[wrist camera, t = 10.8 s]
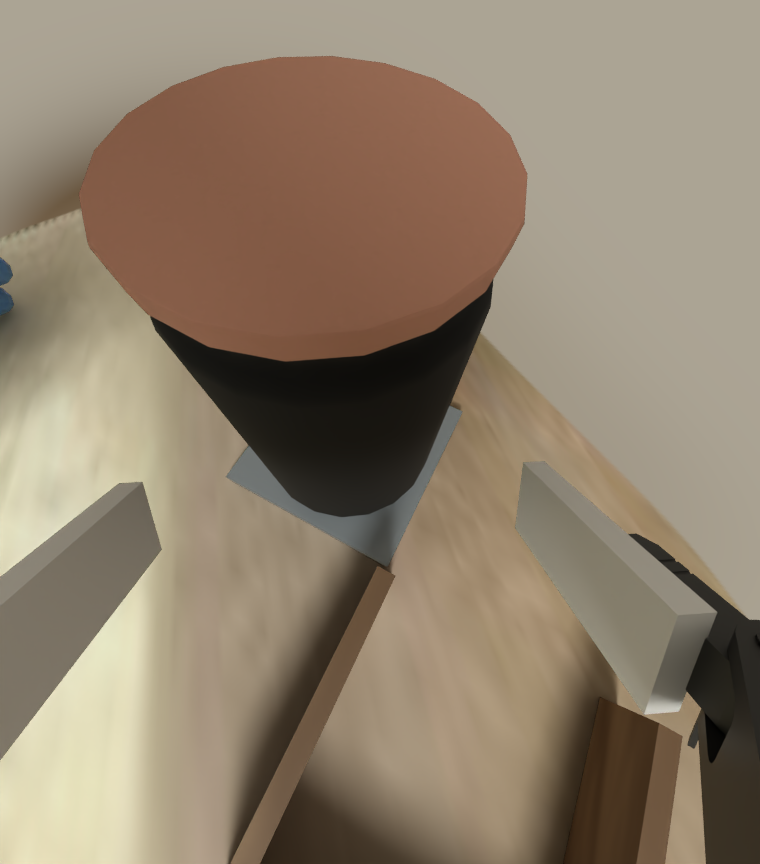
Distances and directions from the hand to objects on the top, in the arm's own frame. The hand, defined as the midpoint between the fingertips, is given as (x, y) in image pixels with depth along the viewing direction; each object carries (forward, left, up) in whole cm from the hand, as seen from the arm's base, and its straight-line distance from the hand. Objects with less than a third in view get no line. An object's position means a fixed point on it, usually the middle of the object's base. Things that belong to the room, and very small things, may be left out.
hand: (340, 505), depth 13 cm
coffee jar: (-4, +6, -11) cm, 13 cm away
